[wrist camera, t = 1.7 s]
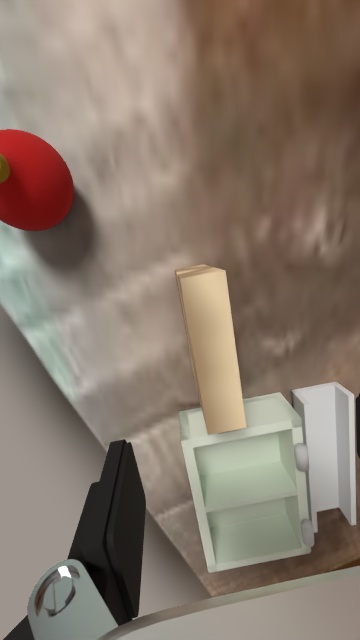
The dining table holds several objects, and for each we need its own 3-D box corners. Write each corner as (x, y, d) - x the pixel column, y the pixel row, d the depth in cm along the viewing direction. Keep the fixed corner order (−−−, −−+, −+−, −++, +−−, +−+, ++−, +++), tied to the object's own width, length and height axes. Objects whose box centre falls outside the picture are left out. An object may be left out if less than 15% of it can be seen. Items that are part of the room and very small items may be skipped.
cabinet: (336, 381, 31) (377, 412, 25) (340, 502, 35) (376, 553, 29) (178, 411, 31) (181, 449, 25) (202, 529, 35) (210, 585, 29)
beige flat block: (203, 264, 27) (225, 270, 17) (220, 371, 30) (246, 427, 20) (174, 269, 27) (179, 279, 17) (193, 376, 30) (207, 435, 20)
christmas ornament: (38, 131, 23) (-52, 46, 14) (100, 194, 25) (59, 156, 15) (-11, 193, 24) (-127, 153, 15) (52, 249, 26) (-16, 247, 16)
